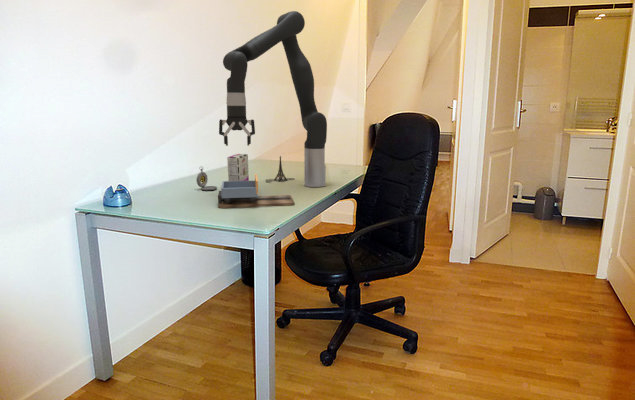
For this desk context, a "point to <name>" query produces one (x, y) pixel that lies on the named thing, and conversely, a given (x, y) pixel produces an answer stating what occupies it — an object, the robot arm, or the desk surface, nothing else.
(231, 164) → the candy bar box
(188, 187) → the desk surface
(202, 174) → the pocket watch
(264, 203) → the track
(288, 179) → the eiffel tower figurine
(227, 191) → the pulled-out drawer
